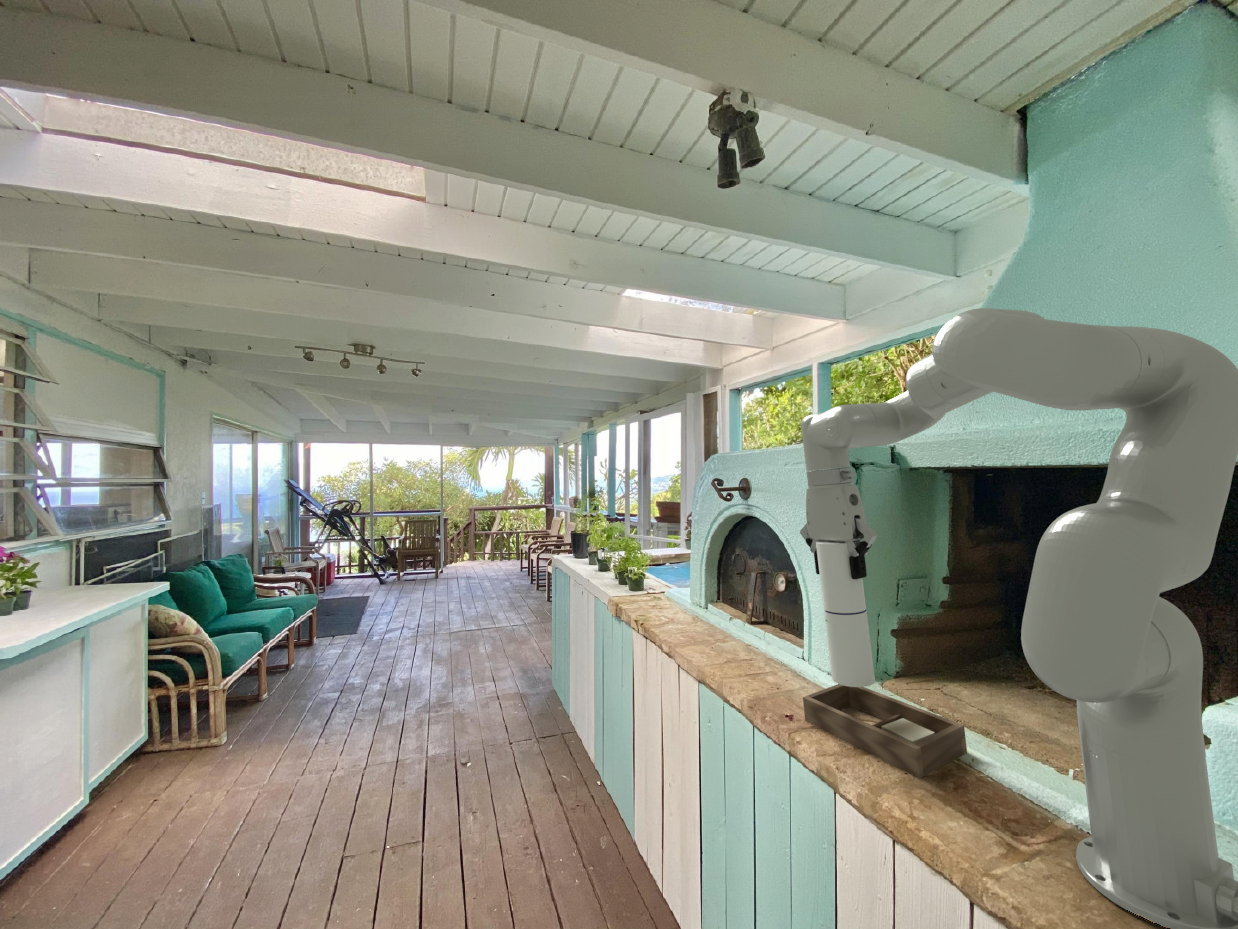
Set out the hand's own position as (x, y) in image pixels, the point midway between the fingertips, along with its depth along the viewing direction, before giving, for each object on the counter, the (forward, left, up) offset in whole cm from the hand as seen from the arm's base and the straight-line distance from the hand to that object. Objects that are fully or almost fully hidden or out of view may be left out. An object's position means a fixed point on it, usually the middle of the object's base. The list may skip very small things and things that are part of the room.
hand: (840, 574), depth 91 cm
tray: (-5, 0, -28) cm, 28 cm away
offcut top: (-10, 0, -25) cm, 27 cm away
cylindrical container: (0, 0, -19) cm, 19 cm away
